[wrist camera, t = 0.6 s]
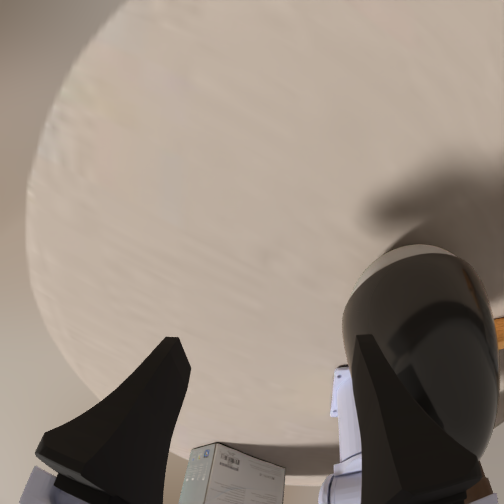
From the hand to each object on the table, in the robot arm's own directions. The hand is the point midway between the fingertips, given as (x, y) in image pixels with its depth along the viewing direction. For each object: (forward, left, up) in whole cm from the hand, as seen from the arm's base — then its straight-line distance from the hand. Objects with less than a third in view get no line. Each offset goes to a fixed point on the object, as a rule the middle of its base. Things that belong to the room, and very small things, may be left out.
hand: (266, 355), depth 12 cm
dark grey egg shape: (-4, -9, -10) cm, 14 cm away
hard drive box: (-41, +10, -11) cm, 44 cm away
